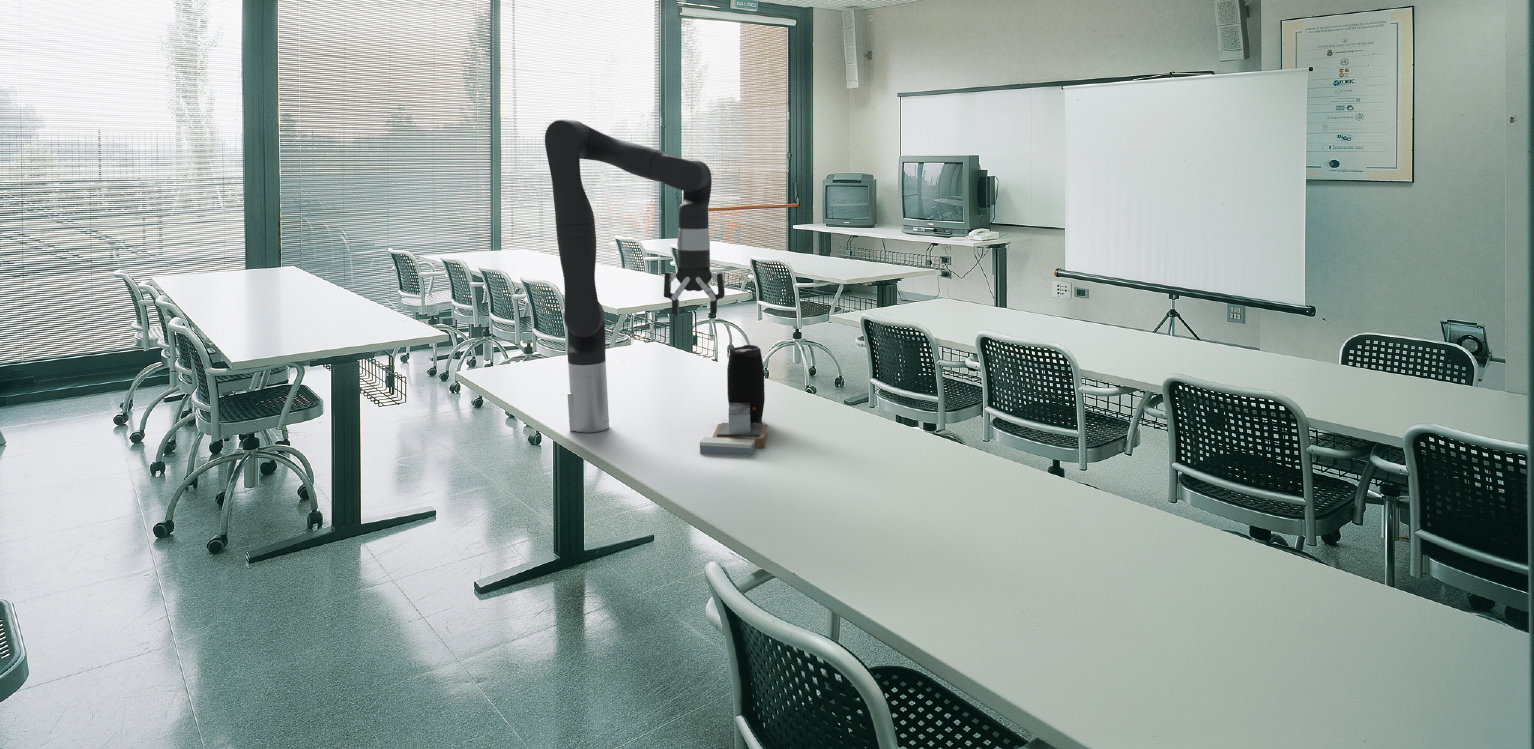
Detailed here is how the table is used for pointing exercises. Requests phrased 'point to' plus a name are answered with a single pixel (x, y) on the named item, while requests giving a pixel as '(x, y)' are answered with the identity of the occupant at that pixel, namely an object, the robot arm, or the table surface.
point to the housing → (739, 418)
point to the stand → (756, 433)
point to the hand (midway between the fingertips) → (694, 316)
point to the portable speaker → (746, 379)
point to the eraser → (727, 446)
